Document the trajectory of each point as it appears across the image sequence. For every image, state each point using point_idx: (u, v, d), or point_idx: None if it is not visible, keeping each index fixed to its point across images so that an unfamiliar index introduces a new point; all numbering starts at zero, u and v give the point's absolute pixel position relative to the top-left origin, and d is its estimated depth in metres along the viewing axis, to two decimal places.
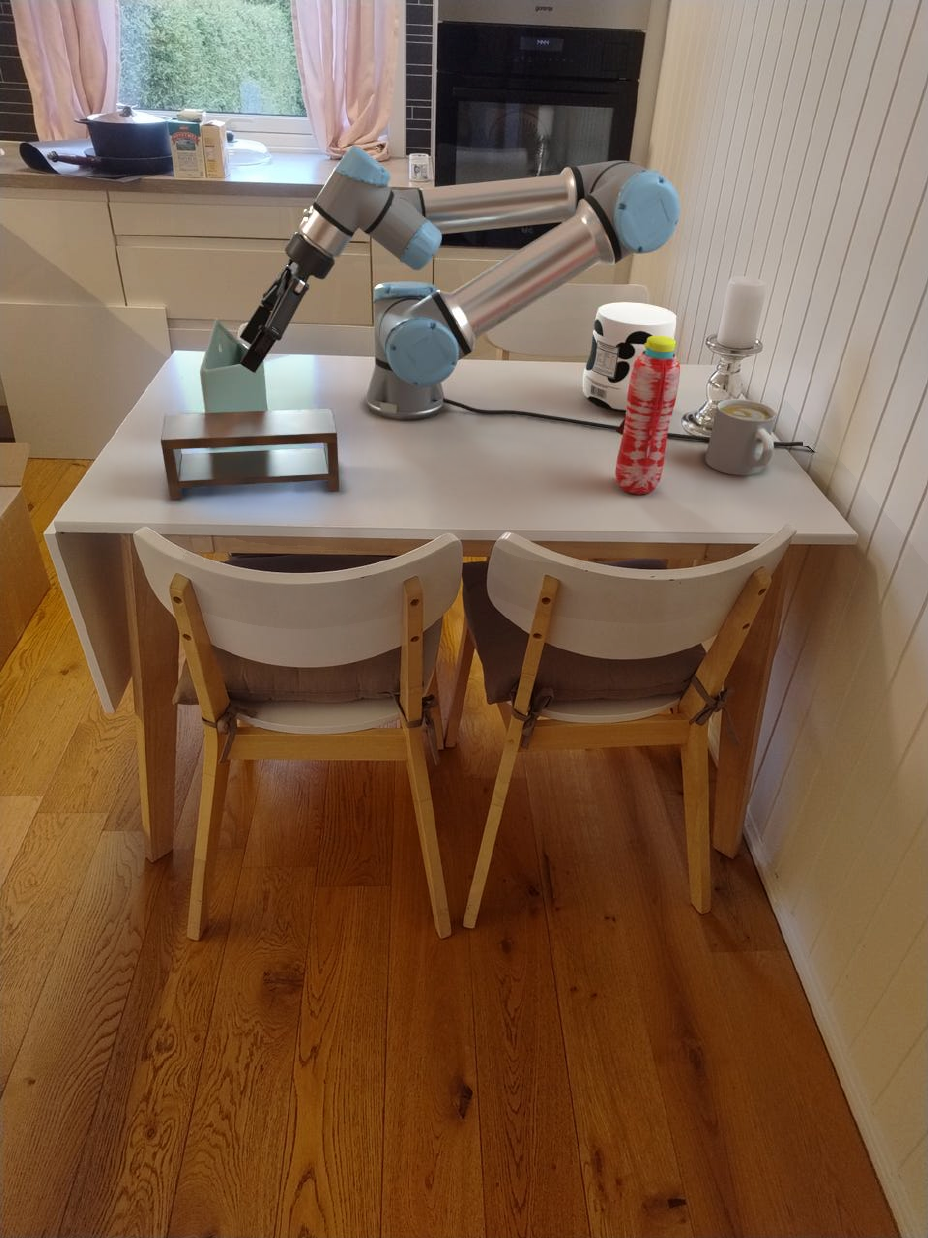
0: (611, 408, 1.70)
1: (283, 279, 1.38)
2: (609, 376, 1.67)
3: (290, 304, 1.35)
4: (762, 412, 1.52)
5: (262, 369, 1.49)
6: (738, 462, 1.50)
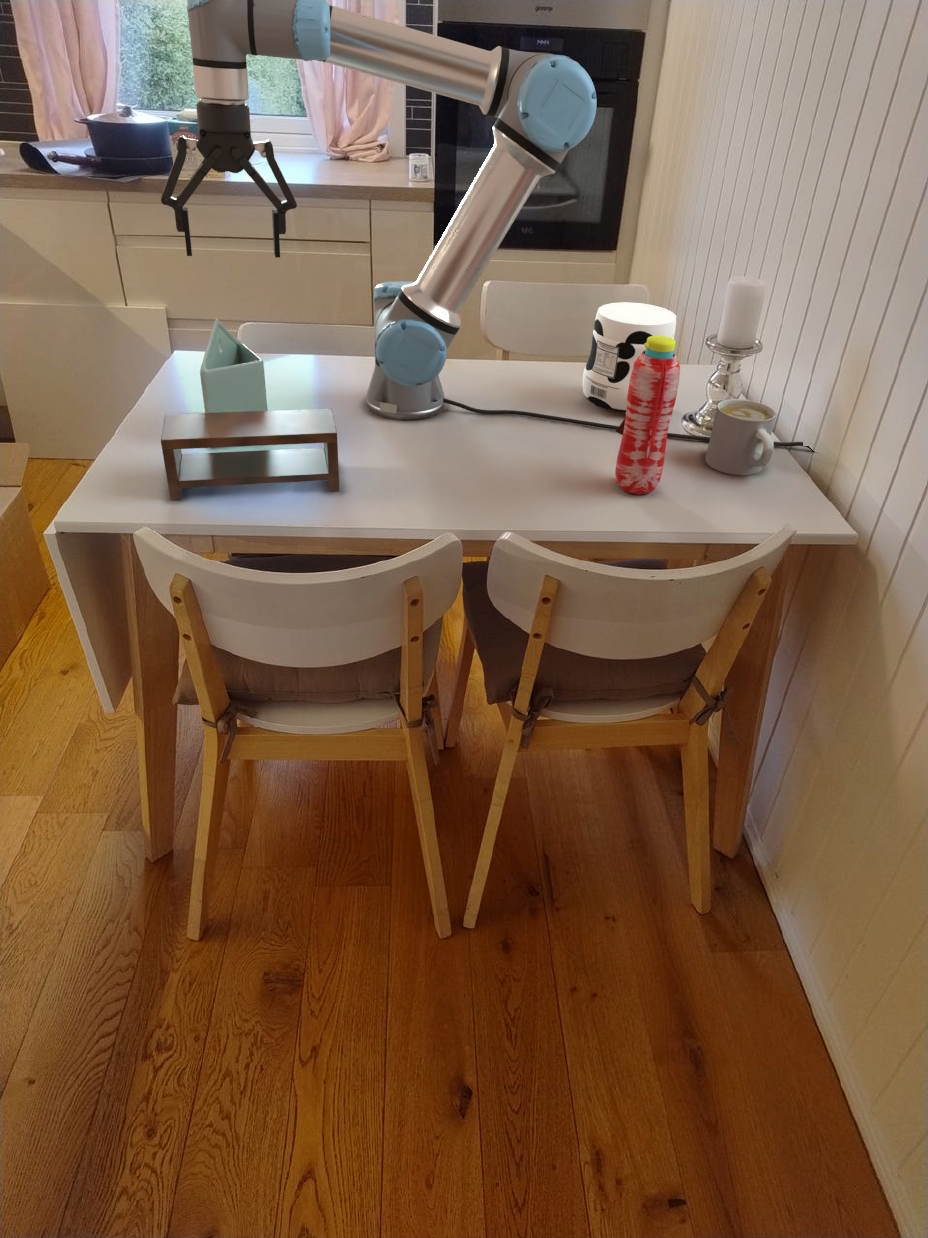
0: (611, 408, 1.70)
1: None
2: (609, 376, 1.67)
3: (173, 164, 1.30)
4: (762, 412, 1.52)
5: (262, 369, 1.49)
6: (738, 462, 1.50)
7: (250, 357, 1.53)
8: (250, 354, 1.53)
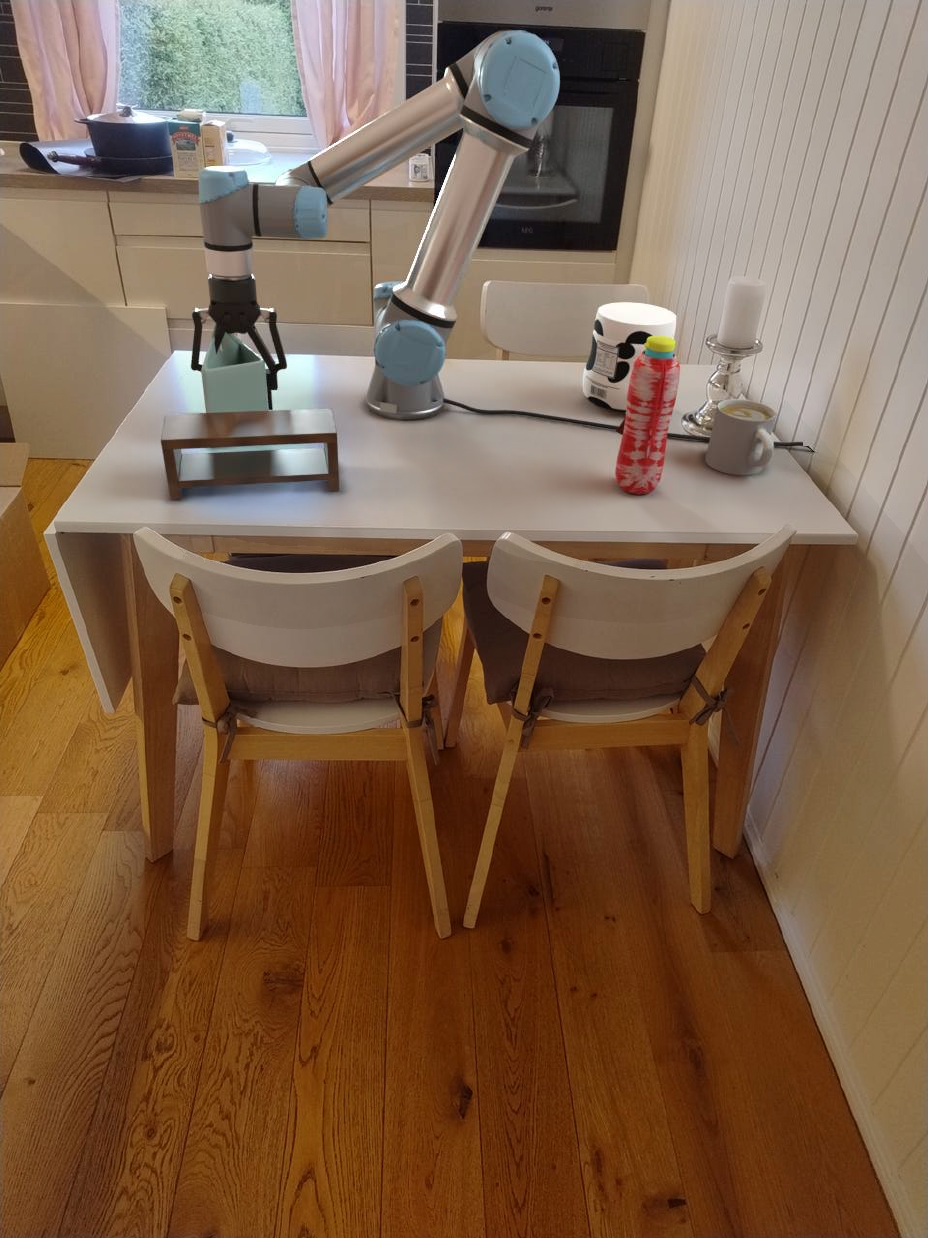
0: (611, 408, 1.70)
1: None
2: (609, 376, 1.67)
3: None
4: (762, 412, 1.52)
5: (263, 369, 1.49)
6: (738, 462, 1.50)
7: (251, 357, 1.53)
8: (251, 354, 1.53)
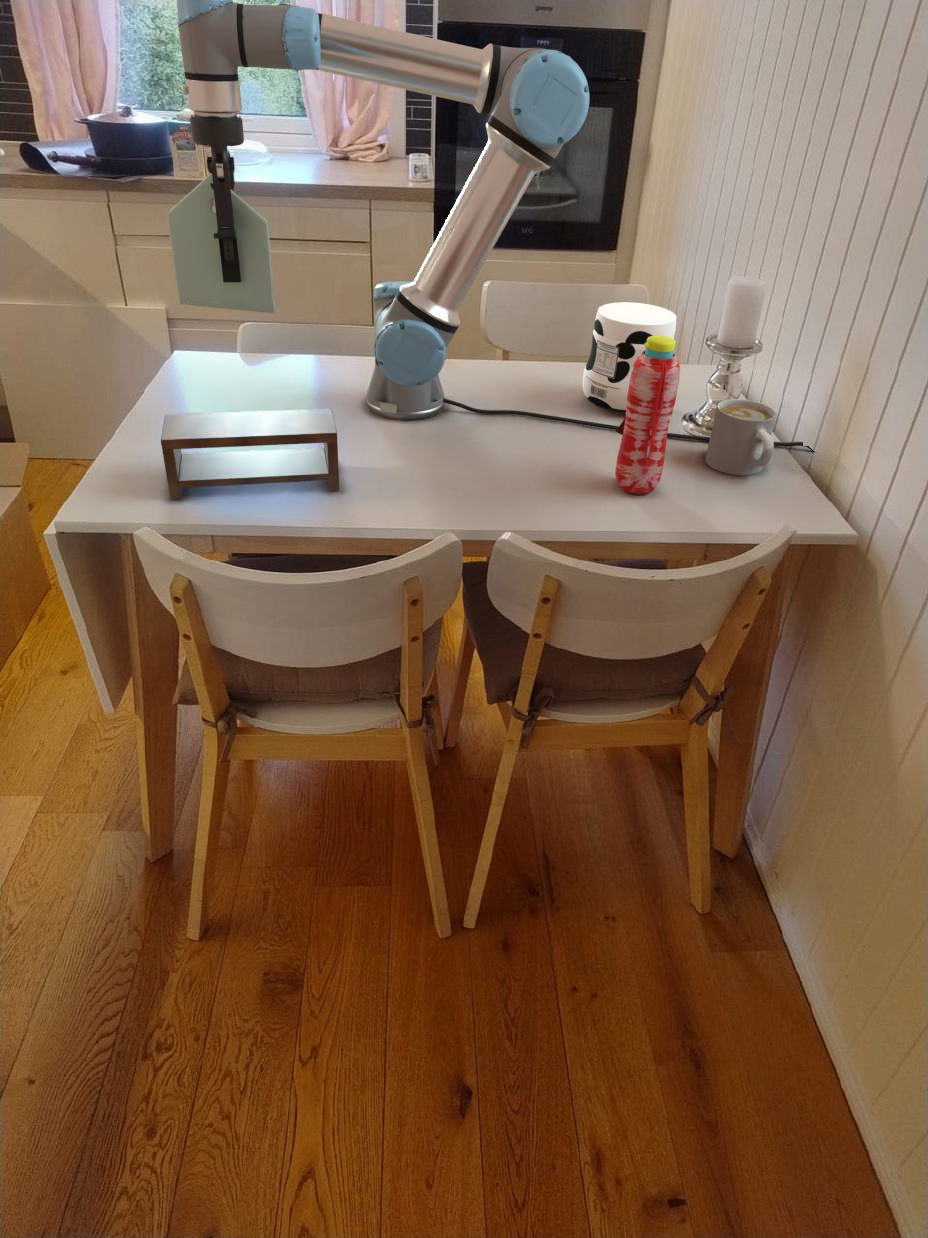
0: (611, 408, 1.70)
1: (208, 170, 1.30)
2: (609, 376, 1.67)
3: (223, 194, 1.28)
4: (762, 412, 1.52)
5: None
6: (738, 462, 1.50)
7: None
8: None
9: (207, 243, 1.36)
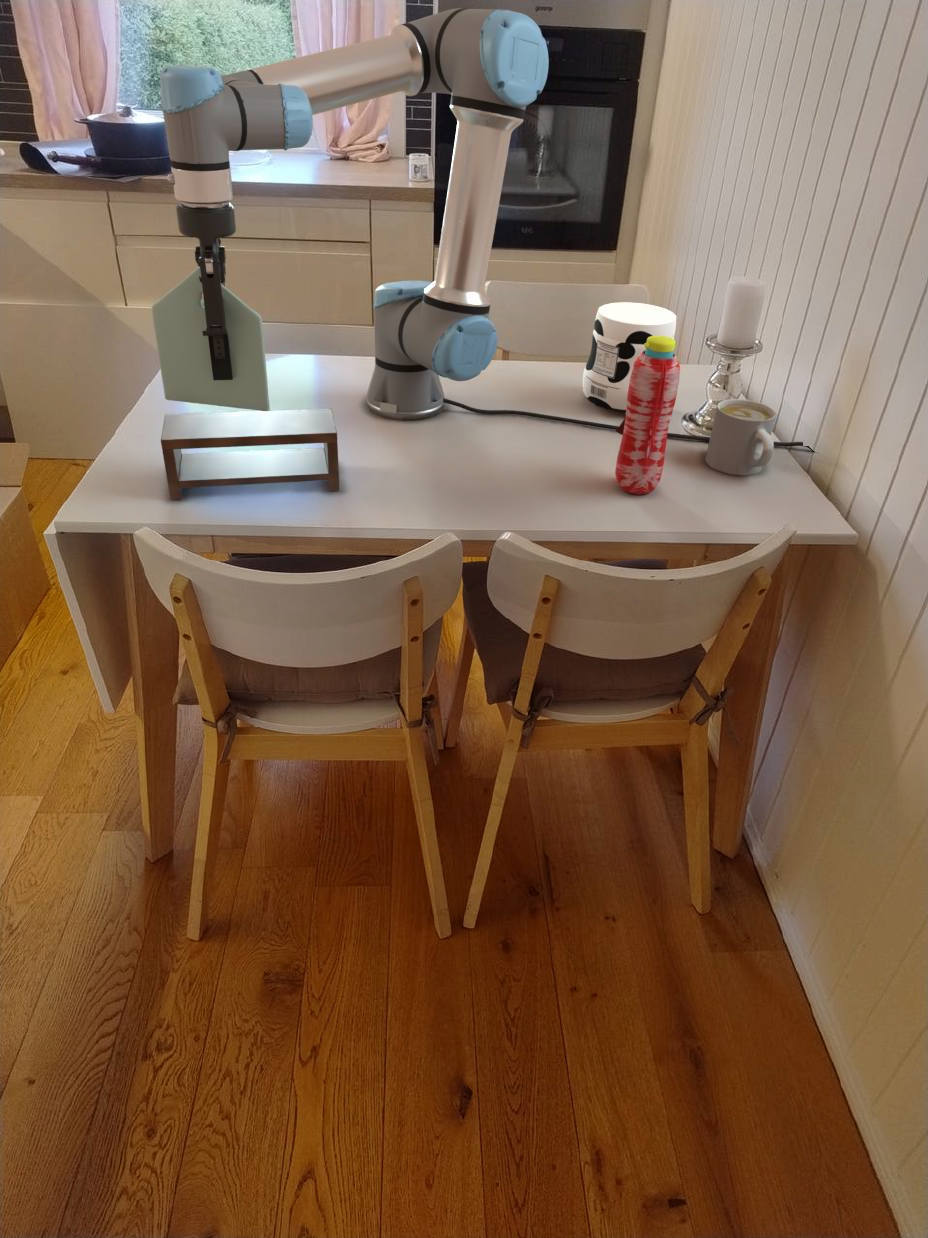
0: (611, 408, 1.70)
1: (197, 263, 1.19)
2: (609, 376, 1.67)
3: (212, 291, 1.17)
4: (762, 412, 1.52)
5: None
6: (738, 462, 1.50)
7: None
8: None
9: (195, 338, 1.24)
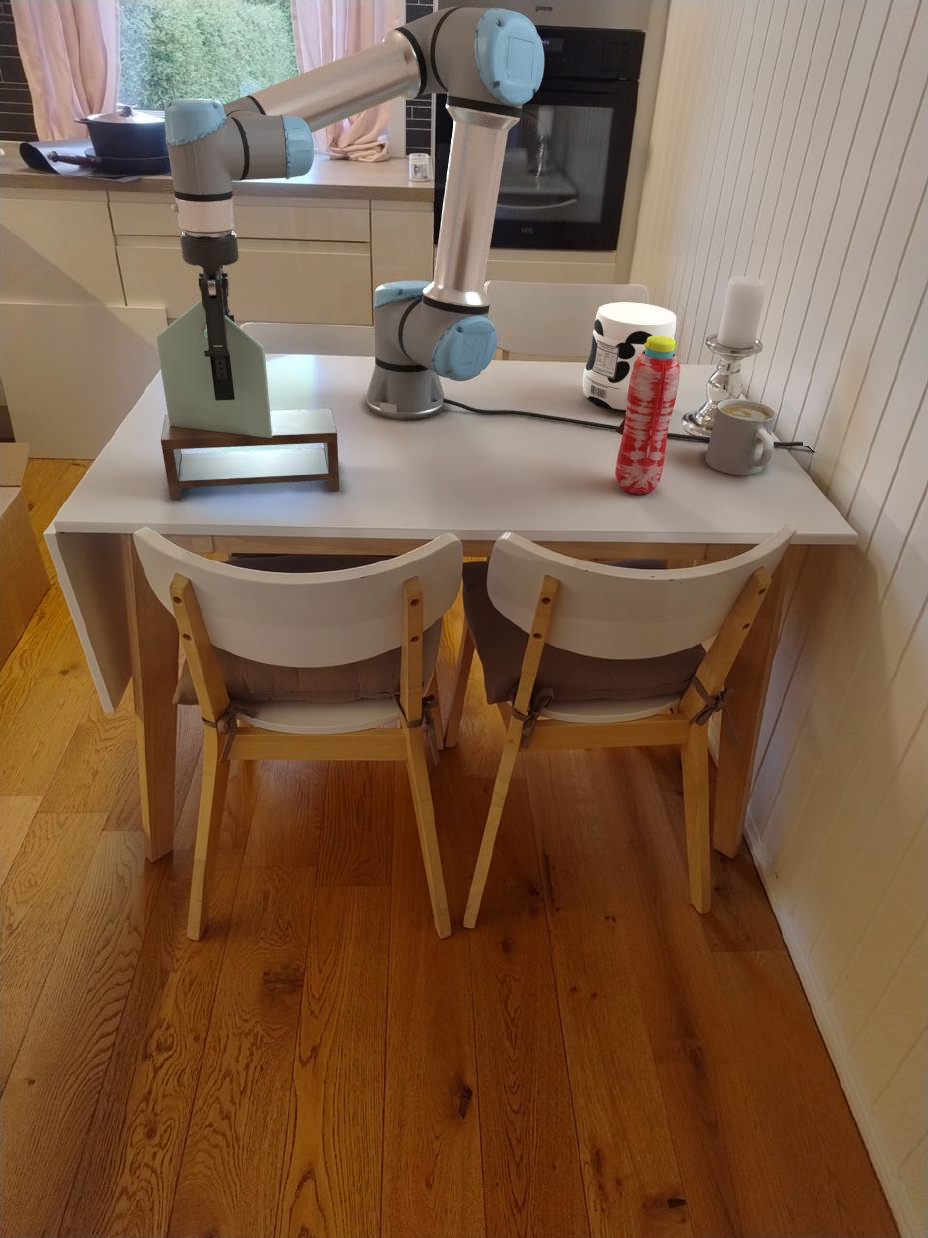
0: (611, 408, 1.70)
1: (200, 289, 1.21)
2: (609, 376, 1.67)
3: (215, 312, 1.18)
4: (762, 412, 1.52)
5: None
6: (738, 462, 1.50)
7: None
8: None
9: (199, 367, 1.27)
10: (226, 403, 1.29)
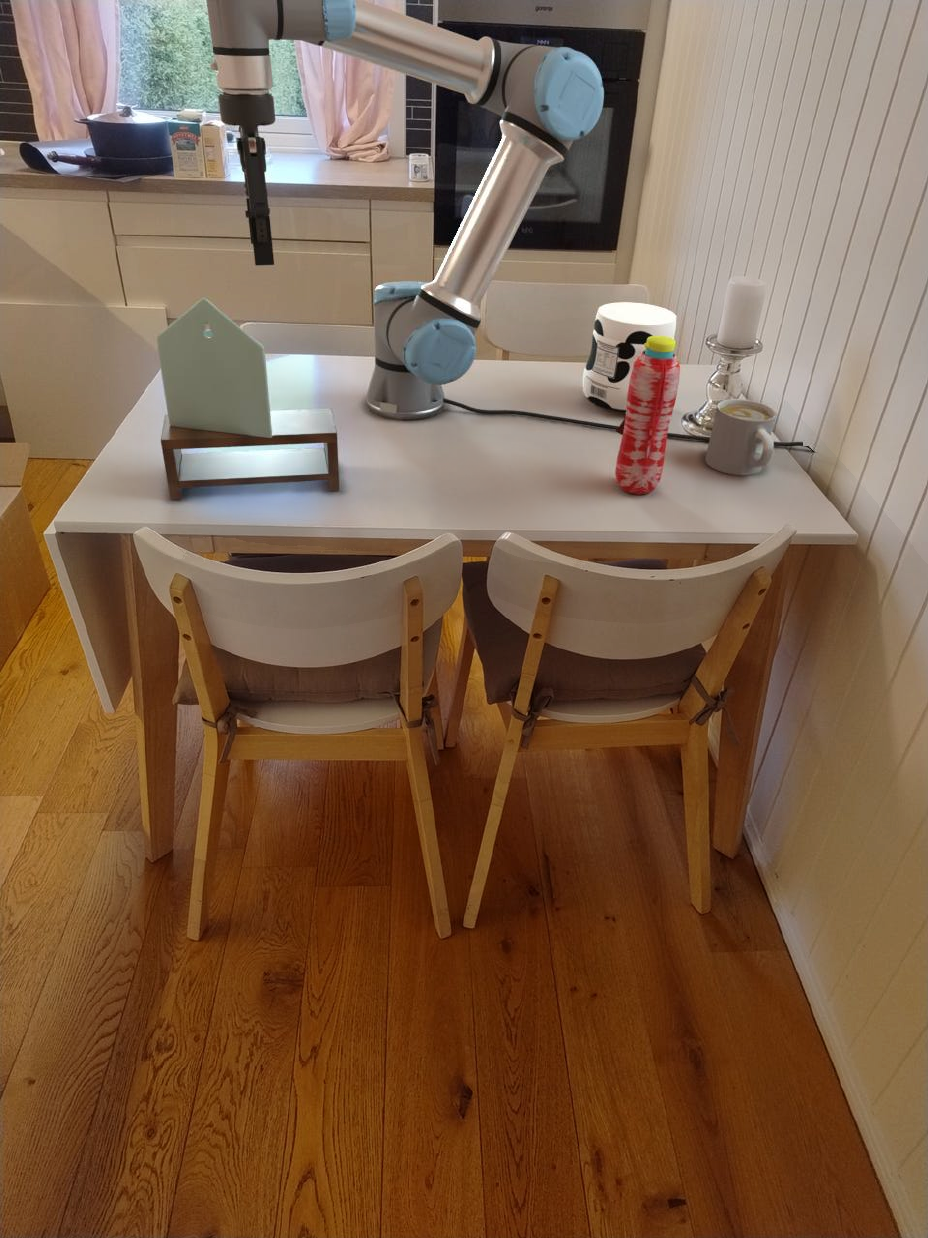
0: (611, 408, 1.70)
1: (239, 151, 1.23)
2: (609, 376, 1.67)
3: (255, 169, 1.19)
4: (762, 412, 1.52)
5: None
6: (738, 462, 1.50)
7: None
8: None
9: (199, 367, 1.27)
10: (226, 403, 1.29)
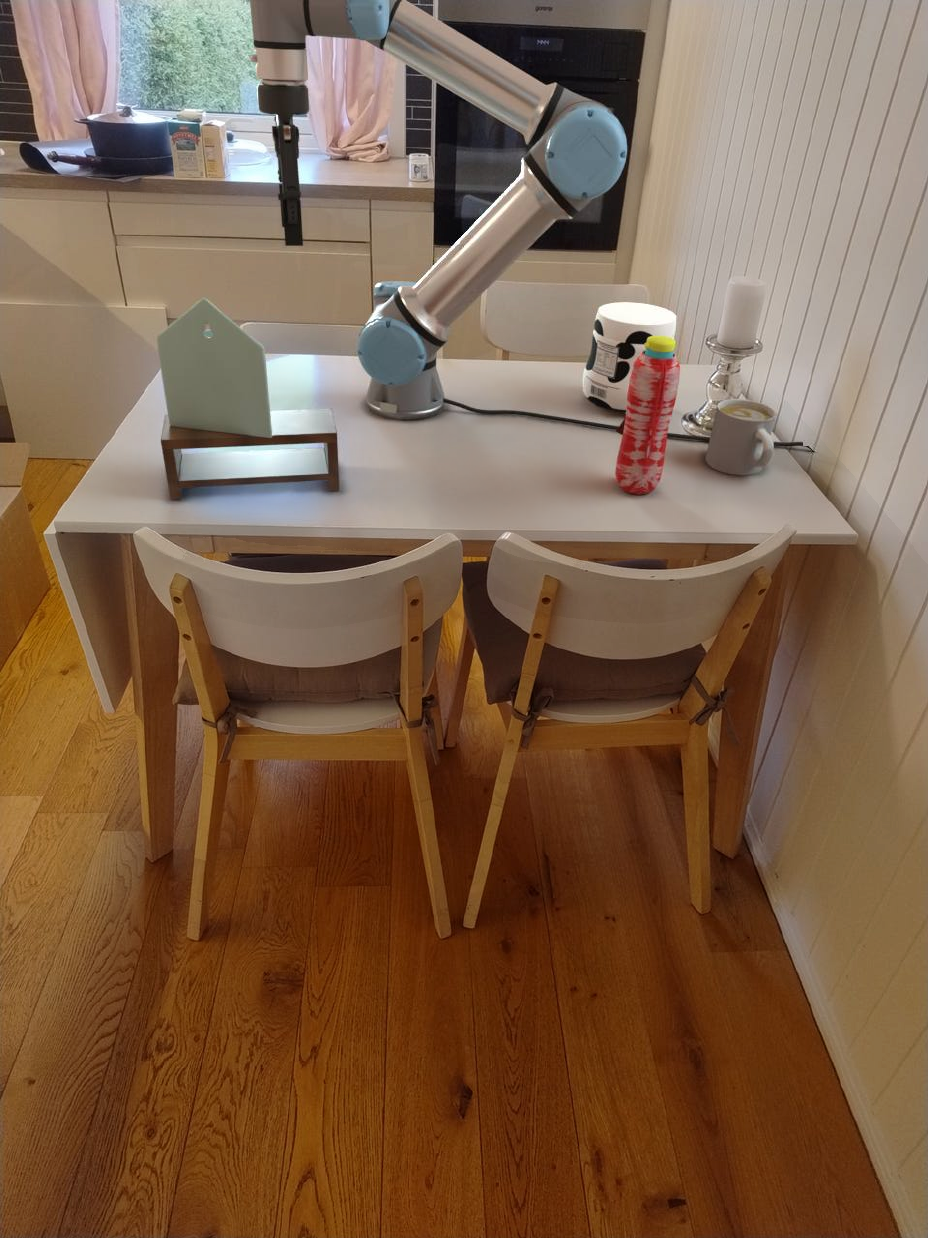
0: (611, 408, 1.70)
1: (274, 138, 1.31)
2: (609, 376, 1.67)
3: (289, 155, 1.28)
4: (762, 412, 1.52)
5: None
6: (738, 462, 1.50)
7: None
8: None
9: (199, 367, 1.27)
10: (226, 403, 1.29)
